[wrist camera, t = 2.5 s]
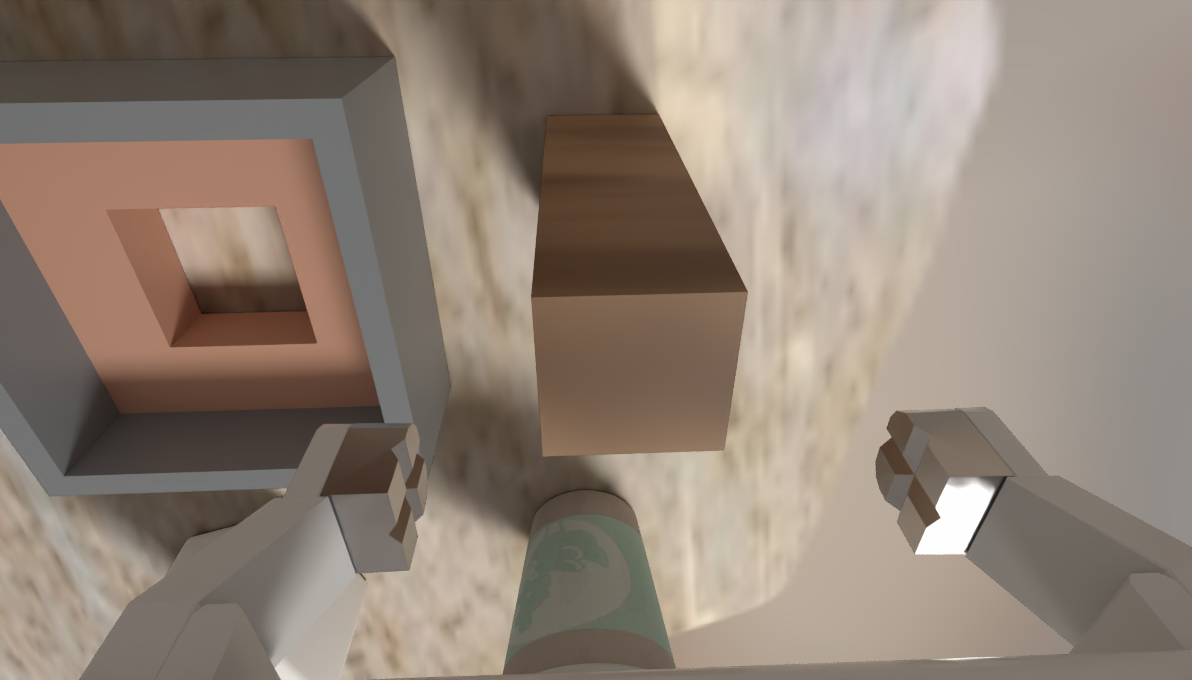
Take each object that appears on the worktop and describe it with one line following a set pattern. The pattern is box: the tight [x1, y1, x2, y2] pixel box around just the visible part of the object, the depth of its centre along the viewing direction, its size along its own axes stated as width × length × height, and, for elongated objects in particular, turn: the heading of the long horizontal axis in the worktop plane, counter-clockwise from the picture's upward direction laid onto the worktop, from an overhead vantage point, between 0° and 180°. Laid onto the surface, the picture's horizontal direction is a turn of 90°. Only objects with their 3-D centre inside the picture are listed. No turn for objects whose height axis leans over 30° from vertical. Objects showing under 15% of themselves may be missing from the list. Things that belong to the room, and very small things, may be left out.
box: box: [0, 57, 451, 496], centre depth 22 cm, size 14×14×6 cm
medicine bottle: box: [165, 526, 367, 680], centre depth 30 cm, size 7×7×12 cm
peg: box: [531, 114, 748, 457], centre depth 18 cm, size 4×4×13 cm
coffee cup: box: [503, 490, 676, 675], centre depth 29 cm, size 9×9×12 cm
